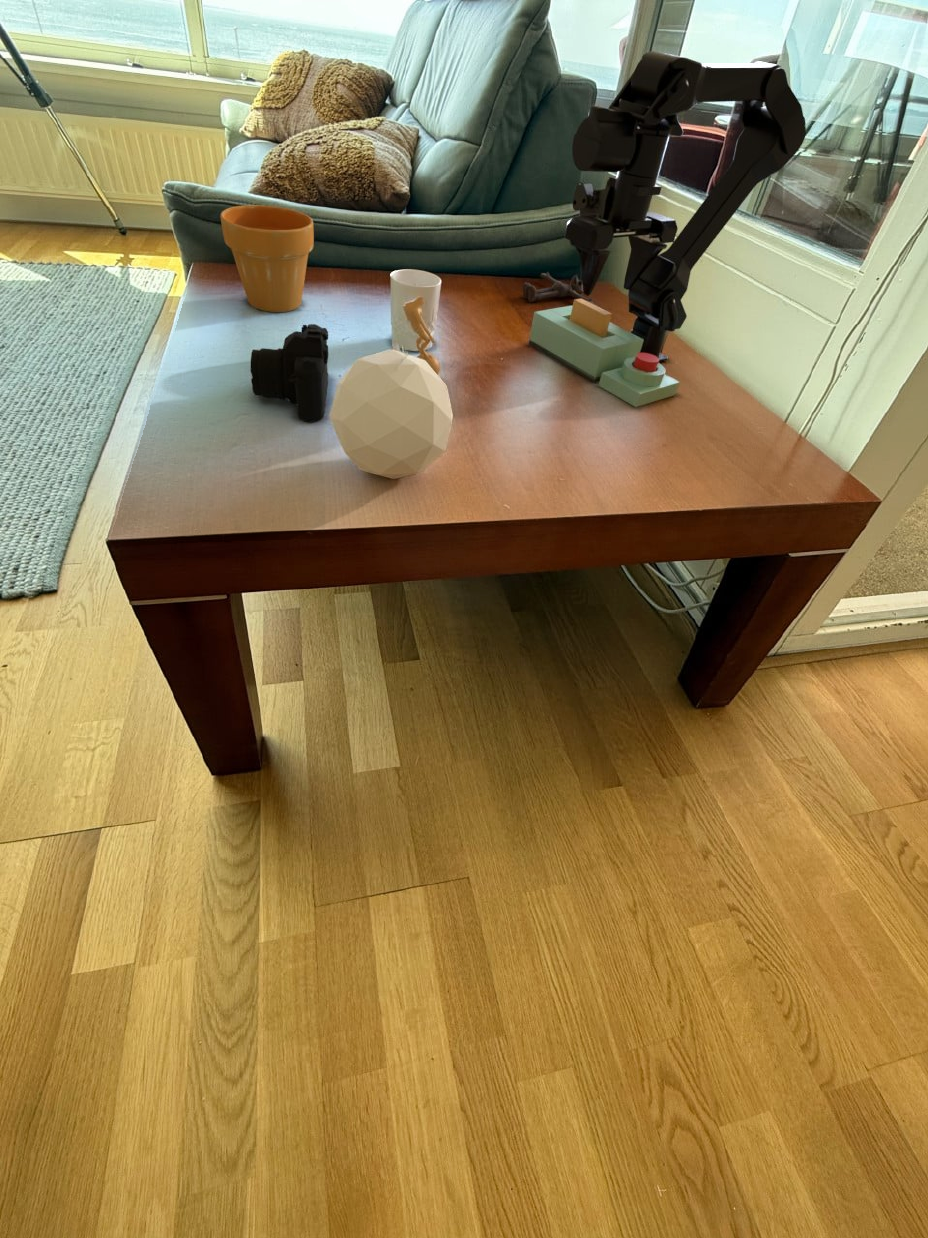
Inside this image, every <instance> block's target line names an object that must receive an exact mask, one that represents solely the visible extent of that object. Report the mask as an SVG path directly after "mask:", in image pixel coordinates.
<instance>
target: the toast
mask: <svg viewBox="0 0 928 1238" xmlns="http://www.w3.org/2000/svg"><path fill="white" fill-rule="evenodd" d="M594 304H595V303H594ZM594 304H592V303H590V302H588V301H586V300H584V299H582V298H581V299H576V298H574V299H573V303H572V305H573V307H572V311H571V316H570V321H571V322H573V323H575V324H577V325H579V326H581V327H583V328H585V329H587V330H589V331H590V332H592V333H594V334H596V335H598V336H600V337H602V338H605V337H606V334H607V330H608V327H609V323H611V318H612V317H613V313H611V312H610V311H608V310H605V308H601V307H600V306H598V305H596V304H595V305H594Z"/></svg>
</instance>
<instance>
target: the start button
mask: <svg viewBox="0 0 928 1238" xmlns="http://www.w3.org/2000/svg"><path fill="white" fill-rule="evenodd" d="M658 363H660V362H659V358H658V357H656V356H655V355H652V354H649V353H638V354H637V355H636V357H635V361H634V364H633V367H635V368H636V369H638V370H641V371H645V372H655V371H656V368H657V365H658Z"/></svg>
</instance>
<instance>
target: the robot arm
mask: <svg viewBox="0 0 928 1238" xmlns="http://www.w3.org/2000/svg"><path fill="white" fill-rule="evenodd" d="M717 102H718V103H721V102H722V103H724V102H742V104H741V109H740V113H739V120H740V124H741V127H742V131H741V133H740V134H739V136H738V138H737V140H736V144H735V149H734V154H733V158H732V162H731V163H730V165H729V167H728V168H727V169H726V171H725V172H724V174H723V175H722V176H721V178H720V179H719V180H718V181H717V182H716V184H715V186H714V187H713V188H712V190H711V191H710V192H709V194H708V195H707V196H706V197H705V199H704V200H703V202H702V203H701V204H700V205H699V207H698V208H697V209H696V211H695V213H694V214H693V215H692V216H691V218H689V221H688V222H687V223H686V224H685V226H684V227H683V229H682V230H681V231H680V233H679V234H678V235H677V232H678V229H679V228H678V225H677V221H676V219H673V218H671V217H668V216H665V215H663V214H660V213H658V212H655V211H649V210H650V207H651V204H652V201H653V197H654V196H660V195H661V191H662V188H663V187H662V186H661V185H658V184H657V182H658V178H659V175H660V172H661V168H662V166H663V165H662V164H663V161H664V157H665V153H666V150H667V147H668V142H669V140H670V137H682V136H683V134H684V129H683V127H682V126H681V123H680V122H679V120H678V114H682V113H684V112H687V111H690V110H691V109H692V108H694V107H695V106H696V105H699V104H703V103H717ZM763 103H764V106H763ZM806 123H807V122H806V117H805V116H804V111H803V107H802V104H801V103H800V101H799V99H798V98H797V97H796V95H795V93H794V92H793V90H792V89H791V87H790V85H789V82H788V77H787V73H786V71H785V69H784V68H783V67H782V65H779V64H775V63H771V62H770V63H769V62H765V61H761V60H758V61H755V62H753V63H702V62H699V61H696V60H693V59H691V58H687V57H683V56H680V55H674V54H670V53H666V52H665V53H664V52H660V51H655V50H651V51H647V52H646V53H643V54H642V56H641V59H640V60H639V61H638V63H637V65H636V67H635V69H634V70H633V72H632V74H631V75H630V76H629V78H628V79H627V81H626V82H625V83H624V85H623V87H621V89H620V91H619V92H618V94H617V95H616V96H615V97H614V99H613V101H612V102H611V103H610V105H609V106H608V108H607V107H603V106H600V105H595V104H593V105H590V107H589V111H588V116H587V117H585V118H584V119H583V120H582V121H581V123H580V124H579V126H578V127H577V130H576V132H575V133H574V135H573V138H572V145H571V152H572V155H571V156H572V161H573V163H574V166H575V167H576V169H577V170H578V171H580V172H593V173H594V172H596V173H616V174H615V176H609V177H608V179H607V180H606V183H605V187H604V188H602V189H594V187H593V184H592V183H579V184H576V185H575V188H574V192H573V195H572V209H573V210H574V212H576V211H577V212H578V216H576V215H575V216H571V218H570V219H569V220H568V221H567V222H566V227H565V231H564V232H565V233H564V237H563V238H564V239H566V240H568V241H569V244H570V246H572V247H573V248H574V247H575V249H576V251H577V253H578V255H579V260H580V268H581V269H580V270H581V277H582V278H581V281H582V284H583V293H582V294H583V295H584V296H587V297H589V296H591V294H592V292H593V291H594V289H595V286H596V284H597V282H598V280H599V278H600V276H601V273H602V271H603V270H604V267H605V265H606V263H607V261H608V258H609V256H610V254H611V250H609V249H608V248H609V246H611V244H612V243H613V240H614V239H615V238H617V239H618V238H628V242H629V245H630V253H629V258H628V262H627V266H626V271H625V275H624V281H623V289H625V290H626V291H628V294H627V296H628V312H629V313H630V314H633V315H635V316H636V318H635V319H634V324H633V326H632V328H631V331H630V333H632V334H634V335H636V336H638V337H640V338H642V339H644V341H643V344H642V347H641V351H640V353H649V354H652V355H655V356H656V357H658V358H659V362H658V363H662V362H664V361H665V362H666V361H667V360H668V359H669V357H668V356H667V355H665V354H663V350H664V347H665V344H666V341H667V338H668V334H669V332H675V330H680V329H681V328H682V326H683V324H684V322H685V321H686V319H687V317H688V316H687V313H686V310H685V308H684V305H683V301H682V299H683V297H684V296H685V294H686V293H687V291H688V287H689V283H690V277H691V274H692V273H691V271H692V270H693V268H694V267H695V266H696V264H697V263H698V261H699V260H701V258H702V256H703V255H704V254H705V253H706V251H707V250H708V248H709V247H710V246H711V245H712V244H713V242H714V241H715V240H716V238H717V237H718V235H719V234H720V233H721V232H722V230H723V229H724V228H725V226H726V225H727V224H728V222H729V221H730V220H731V219H732V217H733V216H734V214H735V213H736V212H737V211H738V209H739V208H740V207H741V206H742V204H743V203H744V201H745V200H746V199H747V198H748V197H749V195H750V194H751V192H753V190H754V188H755V187H756V186H757V185H758V184H760V183H761V182H762V181H763V182H764V180H767V179H768V178H769V177H772V176H773V175H775V174H776V173H778V172H780V171H781V170H782V169H783V168H784V167H785V166H786V165H787V163H788V162H790V160H791V159H792V158H793V157H795V155H796V154H797V152H799V150H800V148H801V147H802V145H803V143H804V141H805V139H806V134H807V129H806ZM668 243H669V244H671V243H672V244H671V245H670V246H668ZM667 247H668V248H667ZM665 249H666V250H665ZM663 250H665V251H663ZM662 251H663V252H662Z"/></svg>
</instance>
